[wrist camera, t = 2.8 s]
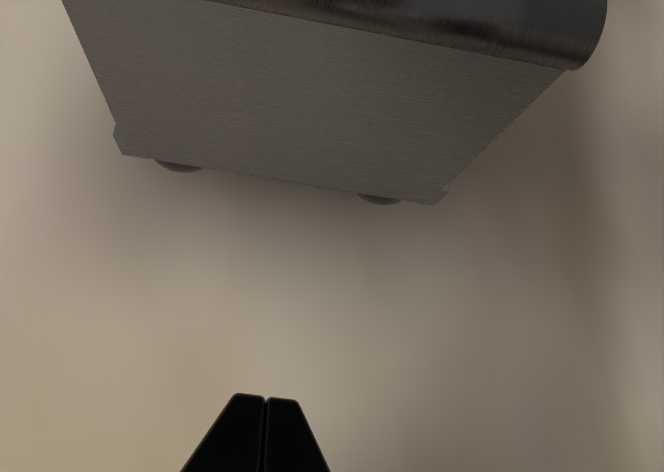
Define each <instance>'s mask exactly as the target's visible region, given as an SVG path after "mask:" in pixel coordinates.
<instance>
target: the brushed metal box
mask: <svg viewBox="0 0 664 472" xmlns="http://www.w3.org/2000/svg"><path fill="white" fill-rule="evenodd" d="M62 2H63V5H64V7H65V9H66V11H67V14H68V16H69V18H70V20H71V23H72V25H73V27H74V30H75V32H76V34H77V36H78V39H79V41H80V43H81V45H82V48H83V50H84V52H85V54H86V57H87V59H88V61H89V63H90V66H91V68H92V70H93V72H94V75H95V77H96V79H97V82H98V84H99V86H100V88H101V91H102V93H103V95H104V97H105V100H106V102H107V104H108V106H109V109H110V111H111V113H112V115H113V118H114V120H115V122H116V125H115V130H114V134H113V136H114V138H115V141H116V143H117V145H118V147H119V149H120V151H121V153H122V155H129V156H135V157H141V158H147V159H153V160H155V161H156V162H157V163H158V164H160V165H161V166H163V167H165V168H167V169H169V170H172V171H176V172H183V173H185V172H194V171H198V170H200V169H203V168H208V169H214V170H221V171H227V172H233V173H239V174H245V175H251V176H257V177H263V178H270V179H276V180H282V181H288V182H294V183H300V184H306V185H313V186H319V187H325V188H331V189H337V190H343V191H349V192H355V193H357V194H358V195H359V196H360V197H362V198H363V199H365V200H367V201H368V202H371V203H374V204H379V205H389V204H394V203H398V202H400V201H402V200H405V201H411V202H417V203H423V204H429V205H435V204H436V203H437V202H438V201H439V200H440V199H441V198H442V197H443V196H444V195H446V194H447V193H448V192H449V183H450V181H451V180H452V179H453V178H454V177H455V176H456V175H457V174H458V173H459V172H460V171H461V170H462V169H463V168H464V167H465V166H467V165H468V164H469V163H470V162H471V161H472V160H473V159H474V158H475V157H476V156H477V155H478V154H479V153H480V152H481V151H482V150H483V149H484V148H485V147H486V146H487V145H488V144H489V143H490V142H491V141H492V140H494V139H495V138H496V137H497V136H498V135H499V134H500V133H501V132H502V131H503V130H504V129H505V128H506V127H507V126H508V125H509V124H510V123H511V122H512V121H513V120H514V119H515V118H516V117H517V116H518V115H519V114H521V113H522V112H523V111H524V110H525V109H526V108H527V107H528V106H529V105H530V104H531V103H532V102H533V101H534V100H535V99H536V98H537V97H538V96H539V95H540V94H541V93H542V92H543V91H544V90H545V89H546V88H548V87H549V86H550V85H551V84H552V83H553V82H554V81H555V80H556V79H557V78H558V77H559V76H560V75H561V74H562V73H563V72H564V71H565V70H566V69H567V70H572V71H574V70H577V69H579V68H580V67H582V66H583V65H584V64H585V63H586V62H587V60H588V59H589V58H590V56H591V55H592V53H593V51H594V50H595V48H596V46H597V44H598V41H599V39H600V36H601V34H602V31H603V27H604V23H605V19H606V13H607V0H62Z"/></svg>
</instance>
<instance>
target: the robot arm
mask: <svg viewBox="0 0 664 472" xmlns="http://www.w3.org/2000/svg"><path fill="white" fill-rule="evenodd" d="M180 472H330V470H329V467H328V465H327V463H326V461H325V459H324V457H323V454H322V452H321V450H320V448H319V446H318V444H317V441H316V439H315V437H314V435H313V433H312V431H311V428H310V426H309V424H308V422H307V420H306V418H305V415H304V413H303V411H302V409H301V407H300V405H299V403H298V402H297V401H295V400H292V399H284V398H276V397H270V398H268V399H267V400H266V402H265V399H264V397H263V396H260V395H252V394H243V393H236V394H234V395H233V396H232V397H231V399H230V400H229V402H228V403H227V405H226V406H225V407H224V409H223V410H222V412H221V413H220V415H219V416H218V418H217V419H216V420H215V422H214V423H213V425H212V426H211V428H210V429H209V431H208V432H207V433H206V435H205V436H204V438H203V439H202V441H201V442H200V444H199V445H198V446H197V448H196V449H195V451H194V452H193V454H192V455H191V457H190V458H189V459H188V461H187V462H186V464H185V465H184V467H183V468H182V470H181V471H180Z"/></svg>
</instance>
